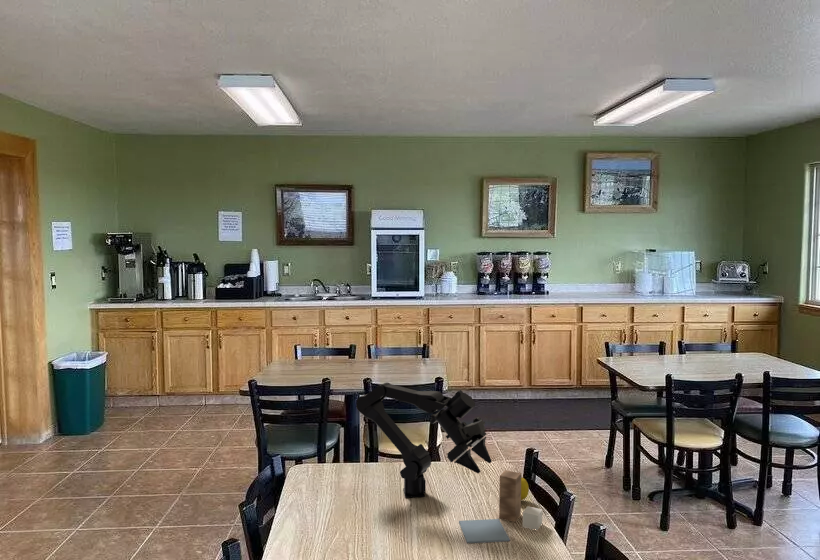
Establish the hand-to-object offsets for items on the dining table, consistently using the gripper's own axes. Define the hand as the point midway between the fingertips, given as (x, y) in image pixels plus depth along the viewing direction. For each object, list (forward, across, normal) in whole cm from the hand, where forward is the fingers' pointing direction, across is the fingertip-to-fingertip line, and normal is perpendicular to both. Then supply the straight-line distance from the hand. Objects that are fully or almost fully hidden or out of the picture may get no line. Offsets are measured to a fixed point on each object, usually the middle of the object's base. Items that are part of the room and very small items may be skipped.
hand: (485, 467), depth 176 cm
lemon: (+15, +12, +5) cm, 19 cm away
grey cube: (+21, -2, -1) cm, 21 cm away
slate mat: (+13, -12, +6) cm, 19 cm away
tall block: (+15, 0, +4) cm, 16 cm away
